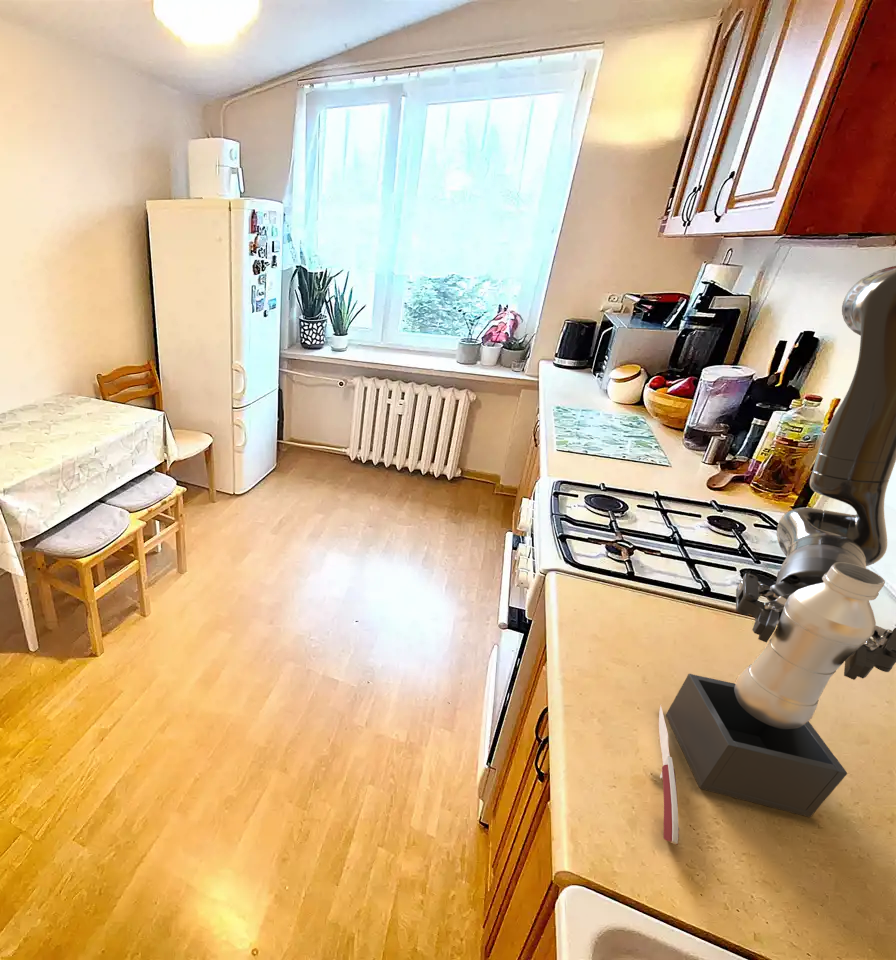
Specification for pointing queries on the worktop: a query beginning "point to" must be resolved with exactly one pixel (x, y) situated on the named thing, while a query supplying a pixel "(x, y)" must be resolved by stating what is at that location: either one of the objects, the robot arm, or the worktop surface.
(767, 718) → the plastic bottle
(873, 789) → the worktop surface
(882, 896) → the worktop surface
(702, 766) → the bin
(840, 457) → the robot arm
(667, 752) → the knife
